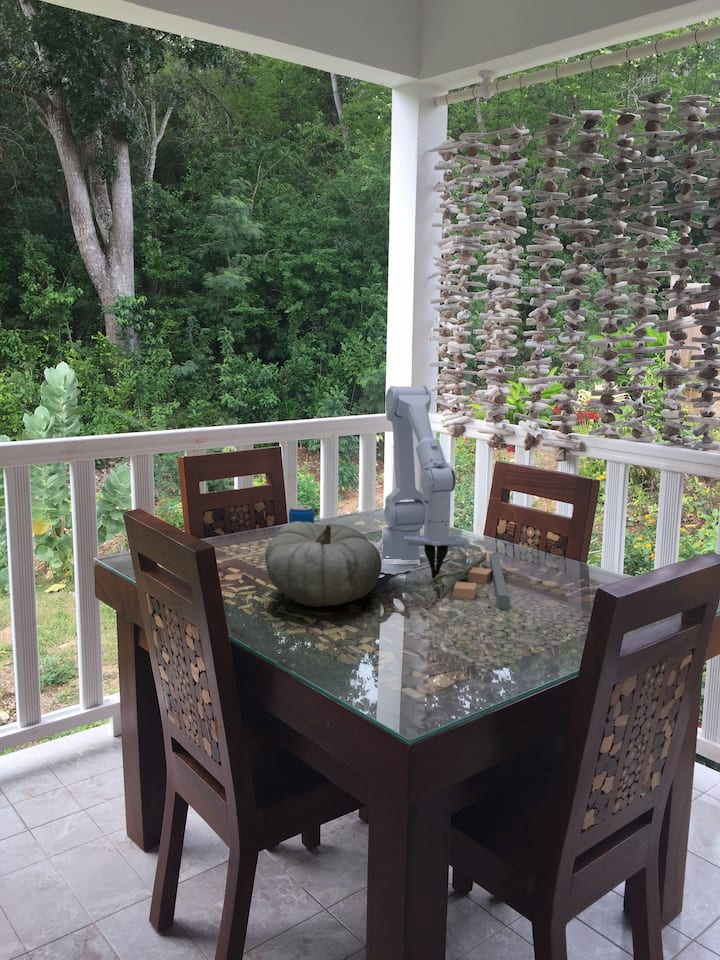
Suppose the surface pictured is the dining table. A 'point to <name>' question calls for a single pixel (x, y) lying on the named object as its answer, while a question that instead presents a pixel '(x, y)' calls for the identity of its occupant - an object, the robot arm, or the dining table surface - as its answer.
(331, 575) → the gourd
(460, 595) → the tile
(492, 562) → the slate curb
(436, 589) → the driftwood
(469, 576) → the tile
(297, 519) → the beverage can
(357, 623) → the dining table surface
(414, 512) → the robot arm
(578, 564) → the dining table surface
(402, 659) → the dining table surface
